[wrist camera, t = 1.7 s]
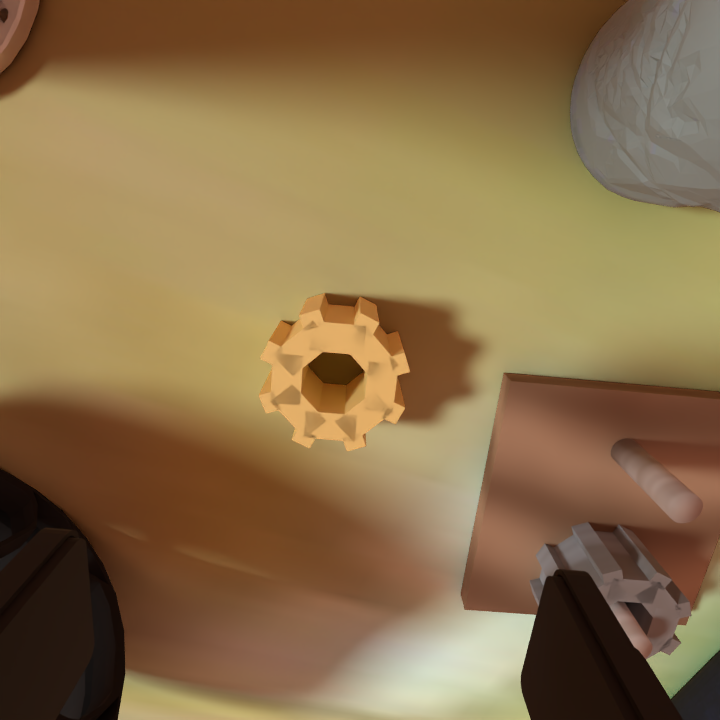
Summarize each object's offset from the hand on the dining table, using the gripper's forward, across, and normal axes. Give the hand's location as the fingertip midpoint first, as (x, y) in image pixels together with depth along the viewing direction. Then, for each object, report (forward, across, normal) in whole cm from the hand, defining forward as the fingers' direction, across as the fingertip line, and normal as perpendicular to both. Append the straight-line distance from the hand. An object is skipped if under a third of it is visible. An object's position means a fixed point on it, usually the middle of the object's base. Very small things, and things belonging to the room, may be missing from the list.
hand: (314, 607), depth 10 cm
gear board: (+16, -15, +7) cm, 23 cm away
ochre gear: (+16, 0, 0) cm, 16 cm away
